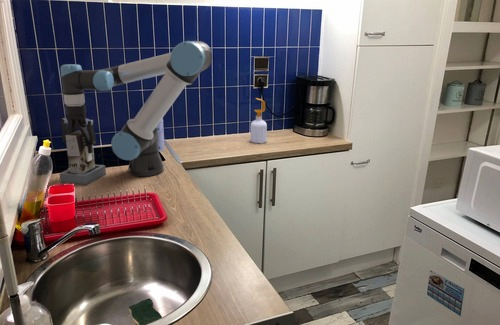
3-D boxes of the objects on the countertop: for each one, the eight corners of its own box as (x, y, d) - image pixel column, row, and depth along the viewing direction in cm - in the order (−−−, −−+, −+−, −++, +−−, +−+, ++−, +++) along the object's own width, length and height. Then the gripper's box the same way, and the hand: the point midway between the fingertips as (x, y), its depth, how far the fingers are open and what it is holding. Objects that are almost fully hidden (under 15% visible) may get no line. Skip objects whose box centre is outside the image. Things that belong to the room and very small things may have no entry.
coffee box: (83, 174, 166) (79, 135, 161) (69, 173, 167) (64, 134, 162) (96, 167, 174) (92, 130, 169) (82, 166, 175) (78, 129, 170)
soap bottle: (248, 140, 235) (248, 97, 227) (263, 139, 238) (264, 96, 230) (253, 144, 227) (253, 99, 219) (268, 142, 229) (269, 99, 222)
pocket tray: (106, 174, 177) (105, 164, 176) (87, 185, 164) (85, 175, 162) (81, 172, 179) (80, 162, 178) (60, 182, 166) (59, 172, 165)
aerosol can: (147, 149, 215) (144, 111, 209) (161, 146, 219) (158, 110, 213) (153, 152, 209) (150, 114, 203) (167, 150, 213) (165, 112, 207)
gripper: (102, 104, 164) (107, 159, 171) (59, 101, 168) (66, 155, 175) (91, 107, 157) (97, 164, 164) (47, 104, 161) (55, 160, 168)
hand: (81, 159), depth 169 cm, fingers closed on coffee box, 6 cm apart
